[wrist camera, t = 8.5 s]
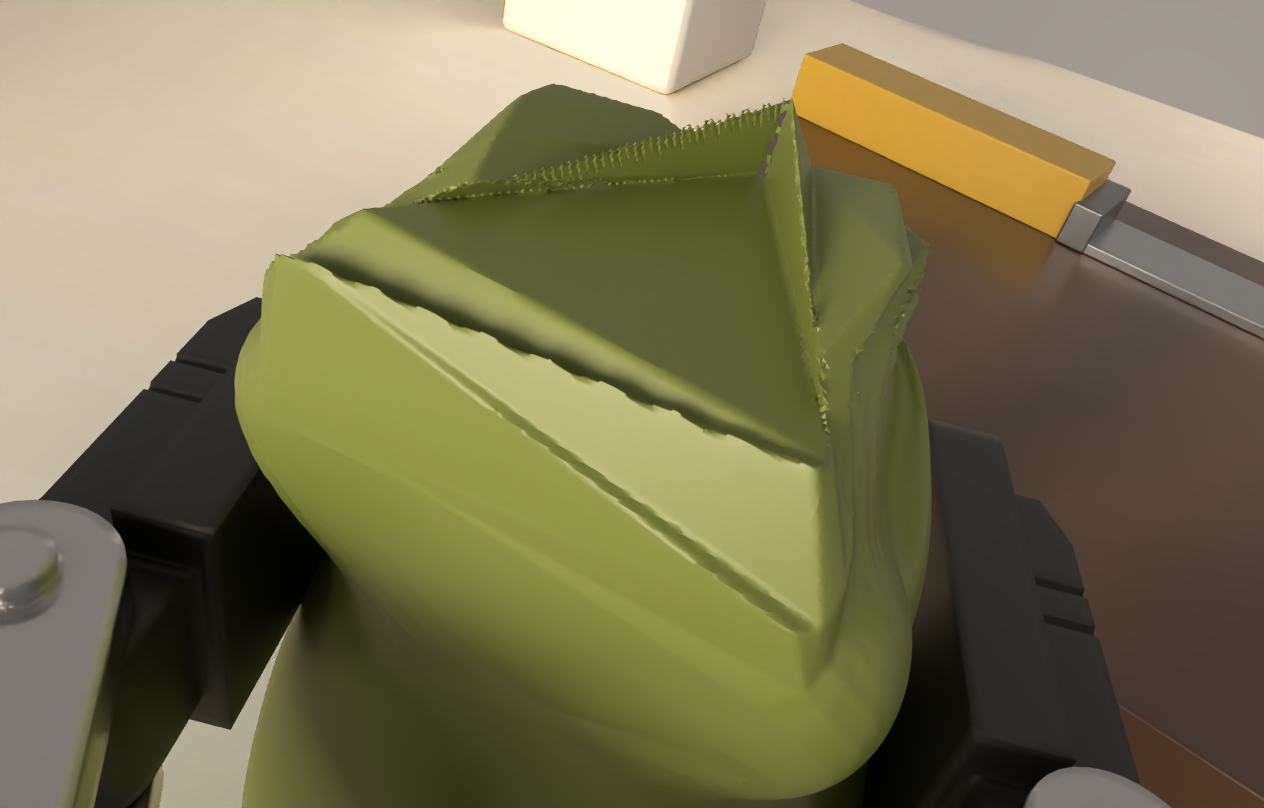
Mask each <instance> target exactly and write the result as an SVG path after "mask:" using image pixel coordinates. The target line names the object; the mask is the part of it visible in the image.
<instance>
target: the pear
mask: <svg viewBox="0 0 1264 808" xmlns="http://www.w3.org/2000/svg"><path fill="white" fill-rule="evenodd" d="M783 100H784V99H783ZM767 105H769V106H768V108H765V106H766V105H763V108H762V110H761V111H760V112H761V114H760V115H758V114H759V112H757V110H755V111H754V112H753V113H750V110H749V108H748V109H747V110H748V112H747V113H746V114H743V113H744V111H745V110H742V113H741V115H740V116H739V117H741V118H740V119H739V120H737V119H738V117H735V115H734V113H733V114H732V115H733V117H732V118H729V117H730V116H731V115H727V119H726V120H725V121H724V122H726V123H725V124H724V125H722V124H723V123H724V122H721V120H719V121H718V122H717V123H719V124H718V126H715V125H716V123H714V121H713V120H712V119H710V120H712V121H711V123H710V124H707V122H708V121H709V120H708V121H705V124H704V126H703V127H704V129H703V131H701V128H702V127H701V128H698V127H699V125H698V126H697V127H696V128H697V130H696V131H695V132H694V131H693V130H694V129H692V128H691V126H690V124H689V125H687V126H689V128H688V129H687V130H684V129H685V127H684V128H683V130H682V131H681V130H680V129H679V128H678V127H677V126H676V125H674V124H673V123H671V122H670V121H669V119H667V118H665V117H663V116H662V114H659V113H656V112H654V111H652V110H647V109H643V108H641V107H636V106H632V105H630V104H626V103H622V102H619V101H617V100H611V99H608V98H607V97H601V96H598V95H596V94H594V93H587V92H583V91H581V90H577V89H572V88H570V87H567V86H563V85H555V84H551V85H547V86H544V87H541V88H539V89H536V90H532V91H530V92H528V93H526V94H524V95H522V96H520V97H518V98H517V99H516V100H514V101H513V102H512V103H511V104H510V105H508V106H507V107H506V108H505V109H504V110H503V111H501V112H500V113H499V114H498V115H497V116H496V117H495V118H493V119H492V120H491V121H490V122H489V123H488V124H487V125H486V126H484V127H483V128H482V129H481V130H480V131H479V132H478V133H476V134H475V135H474V136H473V137H472V138H471V139H470V140H469V141H468V142H467V143H466V144H465V145H463V146H462V147H461V148H460V149H459V150H458V151H457V152H455V153H454V154H453V155H452V156H451V157H450V158H449V159H447V160H446V161H445V162H444V163H443V164H442V165H441V166H440V167H437V169H436V170H435V171H434V172H433V173H431V174H429V175H428V177H427V178H425V179H424V180H423V181H421V182H420V183H419V184H417V185H416V186H414V187H412V188H410V189H409V190H407V191H405V192H404V193H403V194H402V195H400V196H399V197H397V198H396V199H395V200H393V201H392V202H391V203H390V204H387V205H385V207H382V208H371V209H363V210H360V211H358V212H356V213H353V214H351V215H349V216H347V217H345V218H343V219H341V220H339V221H337V222H336V223H334V224H333V225H332V226H331V228H330V229H329V230H328V231H326V233H325V234H324V235H323V236H322V237H321V238H320V239H319V240H315V241H314V242H313V243H311V244H308V245H307V247H306V249H305V250H302V251H300V252H299V253H298V254H291V255H290V257H288V256H286V255H283V254H282V255H278V254H276V255H275V262H274V261H272V263H271V264H270V268H269V269H267V270H266V274H265V278H264V284H263V295H262V309H261V318H260V320H259V321H258V322H257V323H256V325H255V326H254V327H253V329H252V330H251V331H250V333H249V335H248V337H247V339H246V341H245V343H244V345H243V347H242V349H241V352H240V354H239V358H238V363H237V365H236V372H235V381H234V385H235V409H236V412H237V416H238V420H239V423H240V426H241V428H242V431H243V434H244V436H245V438H246V440H247V443H248V446H249V448H250V451H251V453H252V455H253V457H254V459H255V461H256V462H257V464H258V465H259V467H260V469H261V471H262V472H263V474H264V476H265V477H266V478H267V479H268V480H269V481H270V482H271V484H272V485H273V487H274V489H275V490H276V492H277V494H278V495H279V497H280V498H281V499H282V501H283V502H284V503H285V504H286V505H287V507H288V508H289V509H290V510H291V511H292V513H293V514H294V515H295V517H296V518H297V519H298V521H299V522H300V523H301V524H302V525H303V526H304V527H305V528H306V529H307V530H308V532H309V533H310V534H311V535H312V537H313V538H314V539H315V540H316V541H317V542H318V543H319V545H320V546H321V547H322V548H323V549H324V550H325V552H326V555H325V557H324V558H323V560H322V561H321V563H320V565H319V566H318V568H317V570H316V571H315V573H314V575H313V577H312V579H311V581H310V583H309V585H308V588H307V590H306V592H305V595H304V597H303V600H302V602H301V604H300V606H299V608H298V610H297V611H296V613H295V615H294V617H293V619H292V620H291V622H290V624H289V627H288V629H287V631H286V634H285V637H284V639H283V642H282V644H281V647H280V650H279V653H278V656H277V658H276V661H275V664H274V667H273V670H272V673H271V677H270V680H269V683H268V686H267V690H266V693H265V697H264V700H263V704H262V708H261V711H260V715H259V719H258V723H257V727H256V731H255V735H254V740H253V744H252V749H251V754H250V758H249V764H248V769H247V775H246V781H245V787H244V794H243V802H242V808H862V802H863V796H864V790H865V782H866V774H867V763H868V759H869V758H870V757H871V756H872V755H873V754H874V753H875V751H876V750H877V749H878V748H879V746H880V745H881V743H882V742H883V740H884V739H885V737H886V736H887V734H888V733H889V731H890V729H891V727H892V725H893V723H894V721H895V719H896V717H897V715H898V712H899V710H900V707H901V704H902V701H903V698H904V695H905V691H906V688H907V683H908V678H909V673H910V666H911V657H912V626H913V622H914V619H915V616H916V613H917V609H918V605H919V602H920V598H921V593H922V589H923V584H924V579H925V573H926V567H927V560H928V552H929V543H930V532H931V515H932V480H931V457H930V440H929V427H928V418H927V410H926V403H925V398H924V393H923V387H922V383H921V380H920V376H919V373H918V370H917V367H916V364H915V361H914V358H913V357H912V354H911V352H910V349H909V348H908V346H907V343H906V342H905V341H904V338H903V336H904V333H905V330H906V327H907V323H908V322H909V320H910V319H911V317H912V315H913V313H914V311H915V309H916V307H917V305H918V302H919V300H920V298H919V294H920V291H921V289H920V290H919V289H918V286H919V284H920V283H921V281H922V280H923V278H924V276H925V273H926V270H925V267H926V264H927V262H926V259H927V256H928V253H929V251H930V249H929V244H926V243H925V242H924V240H923V239H922V240H921V239H920V238H919V237H918V235H917V234H916V233H915V232H914V233H913V231H912V230H911V228H910V227H909V226H908V225H906V226H905V225H904V221H903V216H902V211H901V206H900V202H899V197H898V193H897V192H896V190H897V189H894V187H893V185H892V184H890V183H884V182H881V181H877V180H872V179H868V178H865V177H859V176H856V175H850V174H846V173H841V172H836V171H832V170H827V169H823V168H818V167H813V166H812V165H811V162H810V159H809V155H808V152H807V147H806V145H805V141H804V138H803V135H802V130H801V127H800V123H799V120H798V116H797V113H796V109H795V106H794V102H793V99H791V102H790V103H789V104H786V103H785V101H783V104H782V105H781V106H780V107H777V105H778V104H776V105H775V106H774V107H776V108H775V109H774V110H772V109H773V108H774V107H771V105H770V103H769V104H767ZM784 111H787V112H786V116H785V118H784V120H783V122H782V126H781V127H778V126H777V120H778V117H779V115H780V114H781V113H783V112H784ZM775 132H776V133H778V134H779V136H778V141H777V145H776V147H774V148H773V153H772V156H771V155H769V154H767V152H766V151H767V148H768V145H769V143H770V142H771V141H772V140H773V137H774V136H773V135H774V134H775ZM771 159H772V160H771ZM765 160H766V161H767V163H768V167H767V168H766V171H765V173H766V174H767V172H768V174H767V176H766V177H763V176H761V175H760V174H759V167H760V164H761V162H762V161H765Z"/></svg>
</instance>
